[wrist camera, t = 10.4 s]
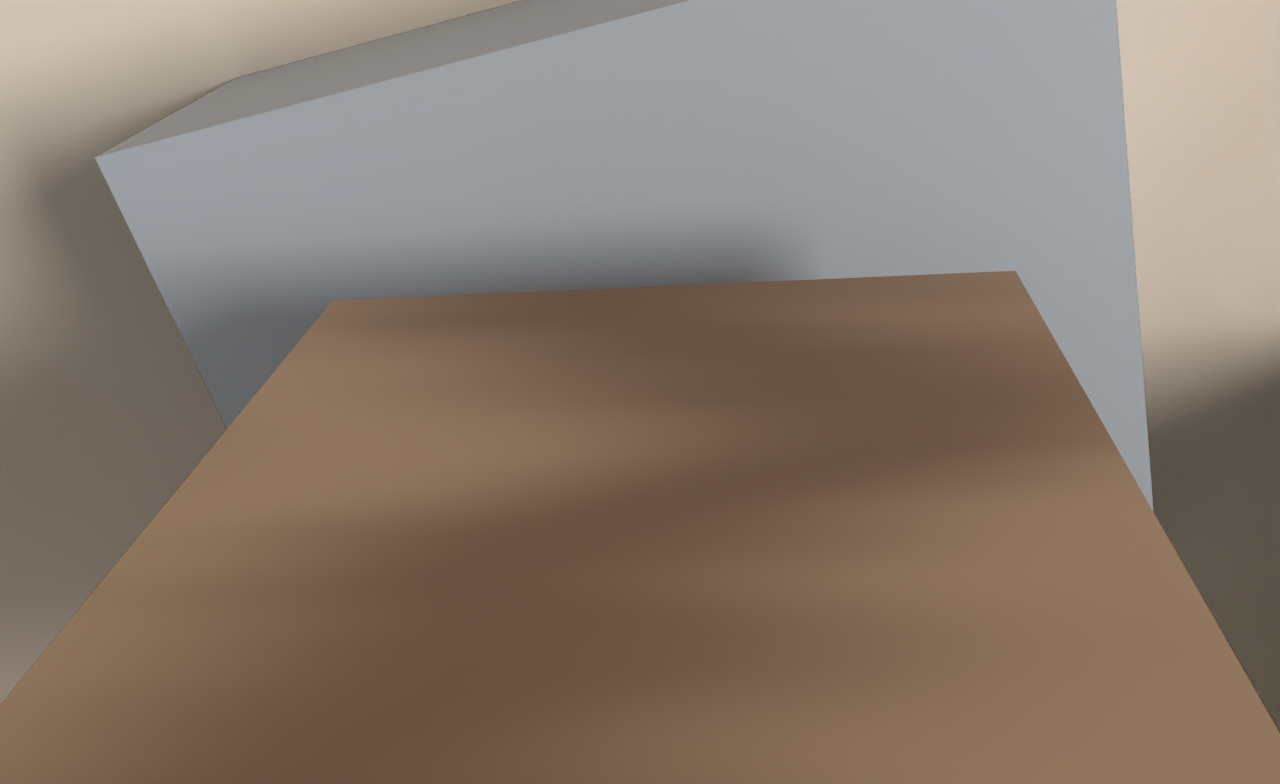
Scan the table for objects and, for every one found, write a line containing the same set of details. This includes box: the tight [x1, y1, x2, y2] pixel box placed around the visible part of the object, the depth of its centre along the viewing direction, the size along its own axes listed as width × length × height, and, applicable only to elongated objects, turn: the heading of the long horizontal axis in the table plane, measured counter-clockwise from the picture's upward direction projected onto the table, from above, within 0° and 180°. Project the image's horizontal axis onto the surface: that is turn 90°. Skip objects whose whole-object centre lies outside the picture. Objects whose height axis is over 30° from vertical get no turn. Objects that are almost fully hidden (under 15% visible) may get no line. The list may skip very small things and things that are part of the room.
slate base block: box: [95, 0, 1153, 510], centre depth 15 cm, size 10×10×4 cm
